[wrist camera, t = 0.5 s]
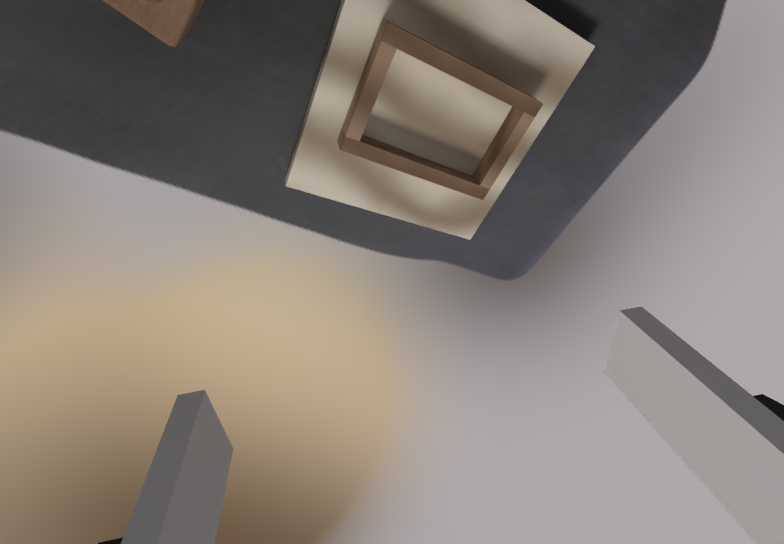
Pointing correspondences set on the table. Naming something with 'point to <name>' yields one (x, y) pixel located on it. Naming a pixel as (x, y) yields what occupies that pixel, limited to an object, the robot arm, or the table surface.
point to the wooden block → (161, 16)
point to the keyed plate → (431, 106)
